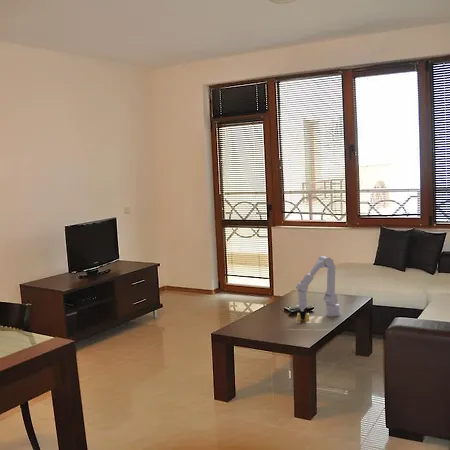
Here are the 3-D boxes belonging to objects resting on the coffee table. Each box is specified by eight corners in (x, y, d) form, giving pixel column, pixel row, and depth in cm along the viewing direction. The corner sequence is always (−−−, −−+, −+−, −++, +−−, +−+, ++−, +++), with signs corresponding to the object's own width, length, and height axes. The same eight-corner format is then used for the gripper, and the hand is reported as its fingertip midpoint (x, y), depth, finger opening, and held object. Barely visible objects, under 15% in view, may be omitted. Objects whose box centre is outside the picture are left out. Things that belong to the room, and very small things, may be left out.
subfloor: (322, 317, 395) (322, 315, 394) (321, 325, 376) (321, 323, 376) (297, 317, 399) (297, 315, 398) (295, 324, 380) (295, 323, 380)
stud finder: (309, 318, 389) (309, 312, 389) (308, 320, 385) (308, 314, 384) (298, 318, 391) (297, 312, 391) (297, 320, 387) (297, 314, 386)
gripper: (297, 297, 394) (298, 315, 396) (295, 302, 380) (296, 321, 382) (307, 297, 393) (308, 315, 394) (306, 302, 379) (307, 321, 380)
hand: (303, 318), depth 388 cm, fingers closed on stud finder, 4 cm apart
